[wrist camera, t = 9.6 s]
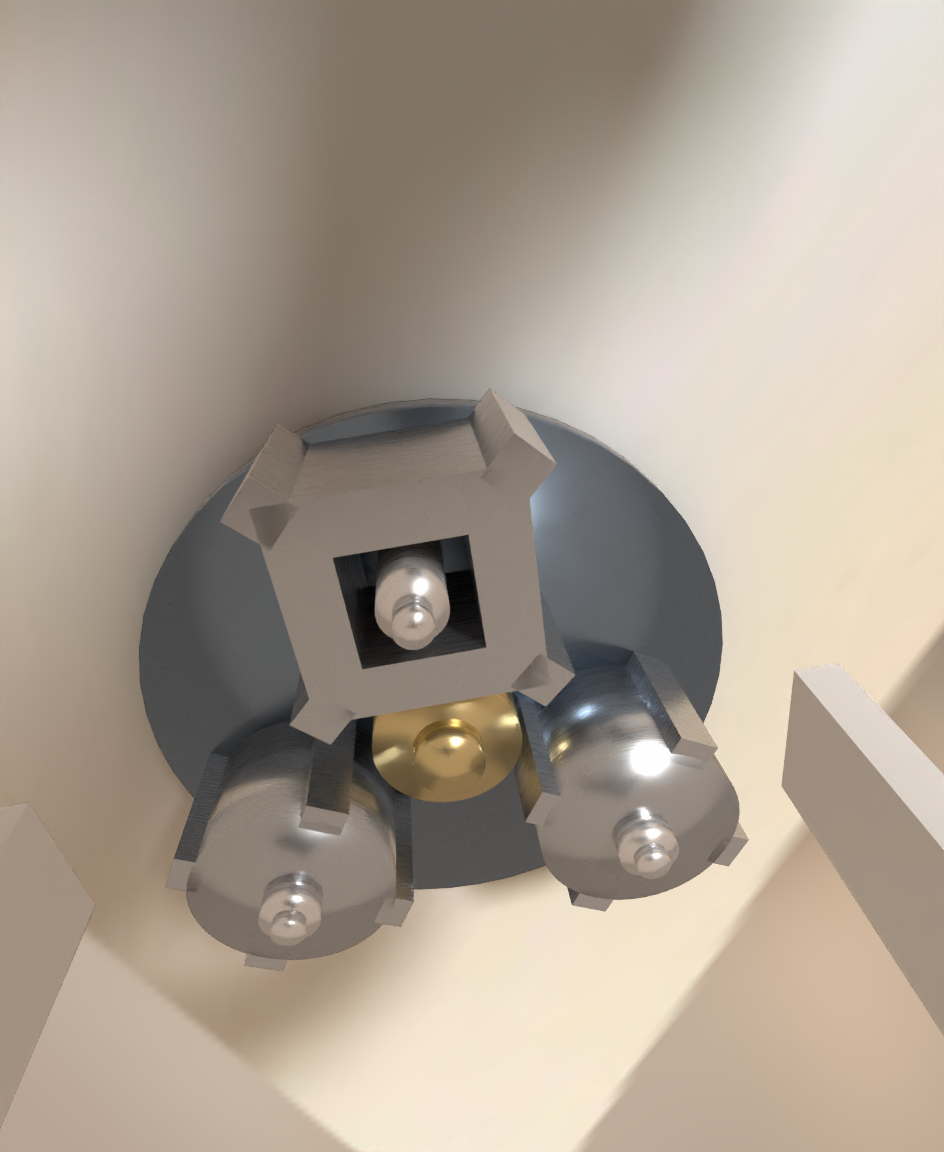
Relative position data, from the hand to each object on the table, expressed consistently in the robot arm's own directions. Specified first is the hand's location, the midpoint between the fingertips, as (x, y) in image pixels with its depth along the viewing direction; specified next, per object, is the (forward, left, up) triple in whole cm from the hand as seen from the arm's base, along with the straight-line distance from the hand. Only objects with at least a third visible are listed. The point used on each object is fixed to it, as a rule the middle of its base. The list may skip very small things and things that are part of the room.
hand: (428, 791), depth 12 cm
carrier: (+6, +4, -14) cm, 15 cm away
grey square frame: (0, 0, -12) cm, 12 cm away
